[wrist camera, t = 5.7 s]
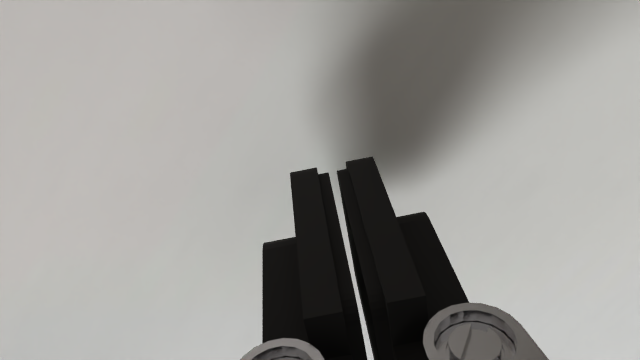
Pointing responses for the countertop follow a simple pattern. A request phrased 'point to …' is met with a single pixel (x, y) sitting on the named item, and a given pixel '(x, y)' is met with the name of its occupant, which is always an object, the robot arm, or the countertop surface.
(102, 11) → the countertop surface
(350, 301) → the robot arm
